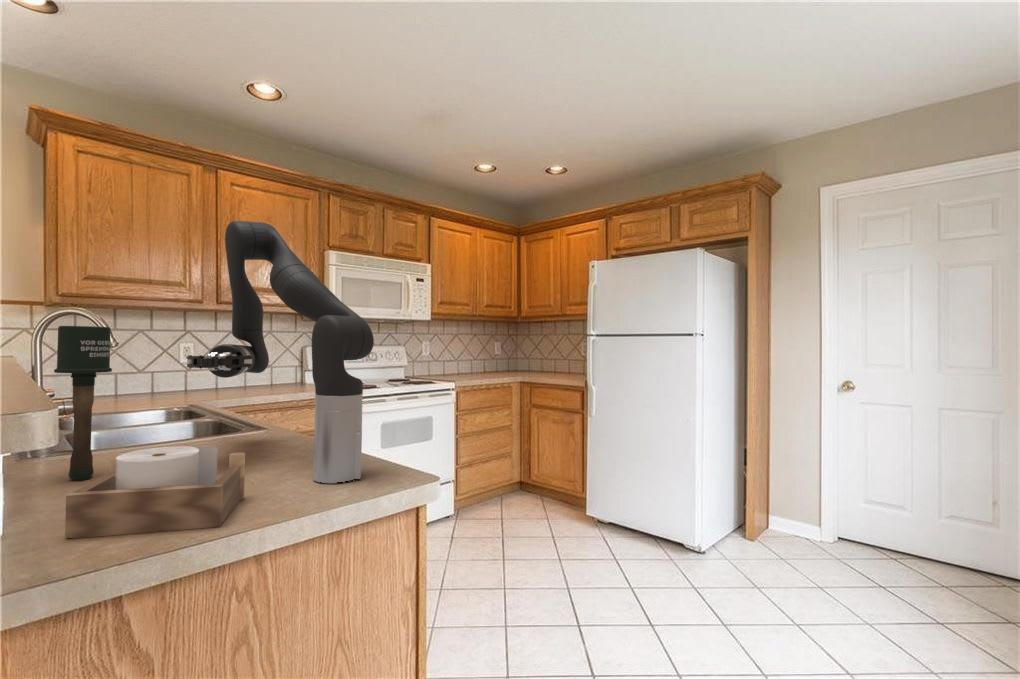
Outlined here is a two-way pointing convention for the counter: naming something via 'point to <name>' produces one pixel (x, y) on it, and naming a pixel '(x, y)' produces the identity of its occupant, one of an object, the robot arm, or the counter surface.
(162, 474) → the toilet tissue
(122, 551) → the counter surface
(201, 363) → the robot arm
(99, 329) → the potato masher grenade
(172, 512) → the brown shallow open tray
